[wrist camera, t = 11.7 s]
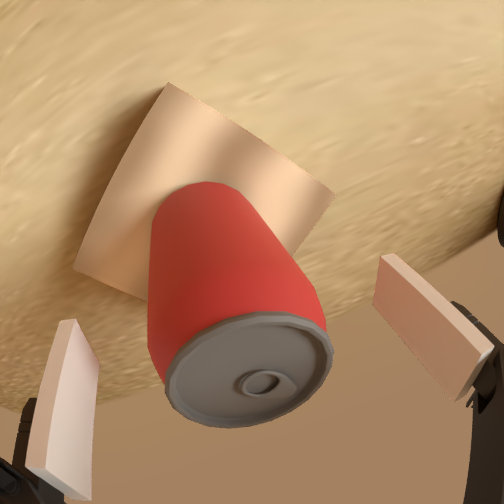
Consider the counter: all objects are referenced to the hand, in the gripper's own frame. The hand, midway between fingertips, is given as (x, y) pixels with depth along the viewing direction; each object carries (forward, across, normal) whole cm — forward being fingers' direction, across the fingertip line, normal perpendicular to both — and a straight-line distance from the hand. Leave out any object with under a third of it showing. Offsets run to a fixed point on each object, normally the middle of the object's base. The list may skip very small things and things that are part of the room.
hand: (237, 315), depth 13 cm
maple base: (+12, 0, 0) cm, 12 cm away
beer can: (+8, 0, 0) cm, 9 cm away
